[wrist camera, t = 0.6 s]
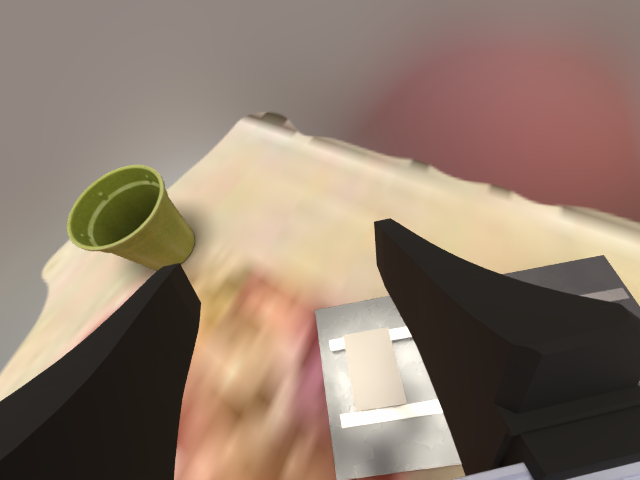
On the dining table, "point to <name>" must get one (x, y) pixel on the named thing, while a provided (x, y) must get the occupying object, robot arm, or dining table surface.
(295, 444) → the dining table surface
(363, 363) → the fader tab
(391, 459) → the fader console
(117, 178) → the plant pot
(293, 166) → the dining table surface
